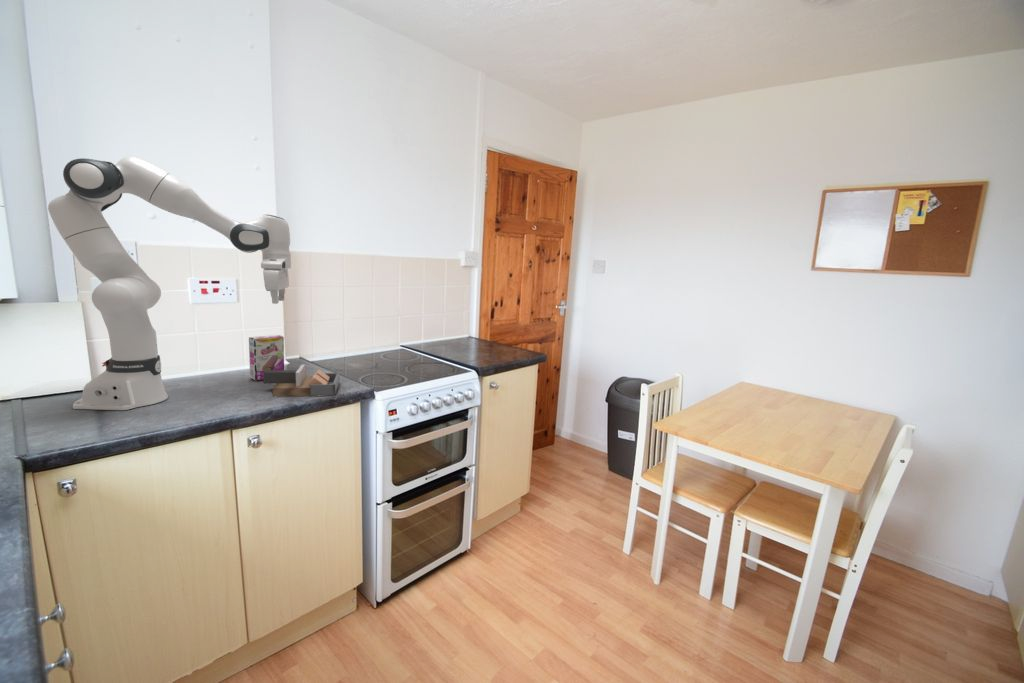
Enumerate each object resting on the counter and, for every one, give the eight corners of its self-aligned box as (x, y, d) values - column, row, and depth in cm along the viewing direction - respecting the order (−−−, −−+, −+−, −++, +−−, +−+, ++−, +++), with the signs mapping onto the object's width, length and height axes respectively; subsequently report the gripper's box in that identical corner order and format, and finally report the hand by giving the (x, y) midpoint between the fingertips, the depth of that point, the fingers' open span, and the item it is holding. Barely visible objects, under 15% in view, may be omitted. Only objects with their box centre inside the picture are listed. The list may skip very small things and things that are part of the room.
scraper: (260, 387, 151) (260, 373, 150) (269, 377, 163) (268, 364, 162) (299, 386, 155) (299, 372, 154) (305, 377, 166) (305, 364, 165)
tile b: (311, 378, 162) (316, 372, 162) (313, 375, 167) (318, 369, 167) (322, 387, 164) (328, 380, 164) (324, 383, 168) (329, 377, 168)
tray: (310, 396, 155) (310, 385, 154) (317, 383, 170) (317, 373, 169) (335, 395, 157) (335, 384, 156) (339, 382, 172) (339, 372, 171)
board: (272, 396, 152) (272, 388, 151) (282, 384, 166) (282, 376, 165) (310, 395, 155) (310, 387, 154) (317, 383, 169) (316, 376, 169)
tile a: (308, 384, 156) (314, 377, 156) (310, 380, 160) (316, 373, 160) (320, 392, 157) (326, 386, 157) (322, 388, 162) (327, 382, 162)
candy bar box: (256, 381, 167) (253, 339, 164) (249, 379, 170) (247, 337, 167) (285, 376, 176) (284, 336, 173) (279, 374, 179) (277, 334, 176)
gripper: (273, 261, 165) (275, 298, 168) (259, 263, 146) (261, 305, 148) (292, 262, 167) (293, 299, 169) (280, 264, 147) (282, 305, 150)
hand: (278, 302), depth 159 cm, fingers open, 8 cm apart
